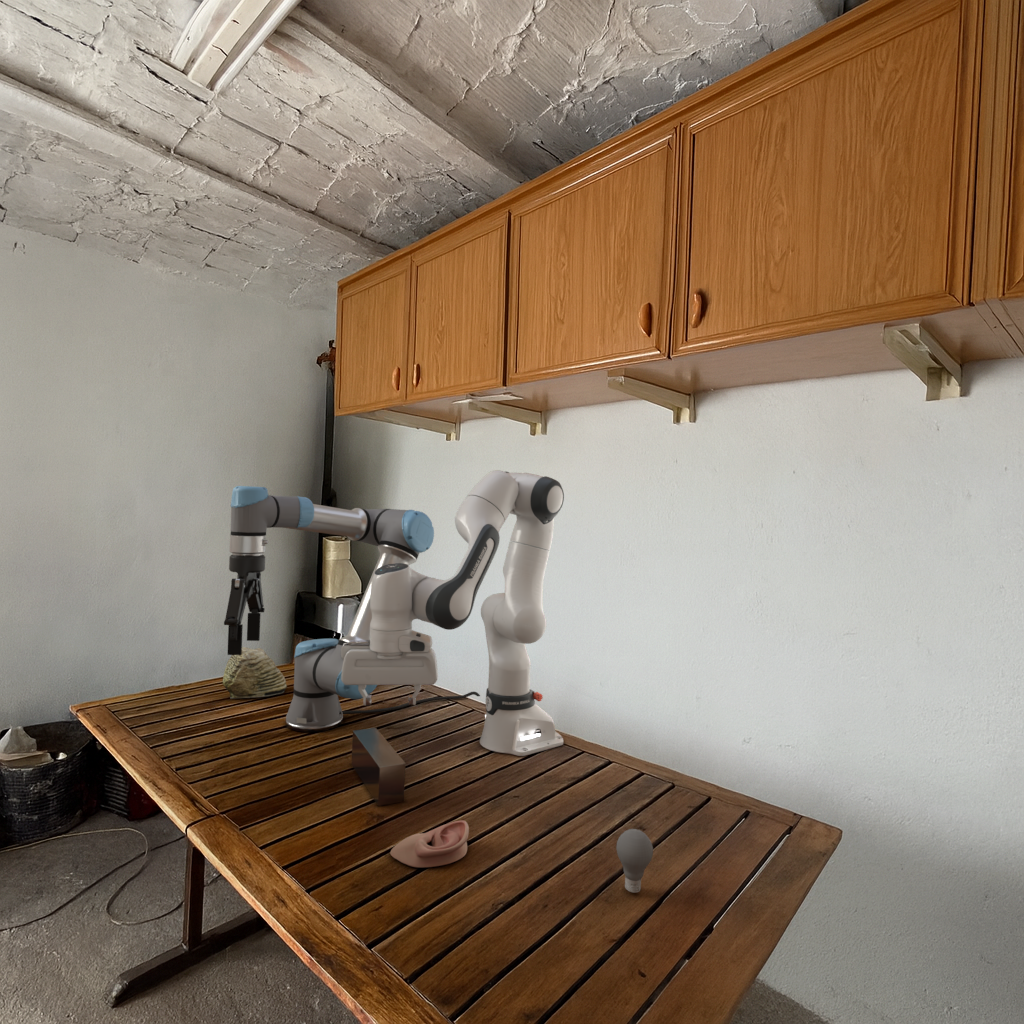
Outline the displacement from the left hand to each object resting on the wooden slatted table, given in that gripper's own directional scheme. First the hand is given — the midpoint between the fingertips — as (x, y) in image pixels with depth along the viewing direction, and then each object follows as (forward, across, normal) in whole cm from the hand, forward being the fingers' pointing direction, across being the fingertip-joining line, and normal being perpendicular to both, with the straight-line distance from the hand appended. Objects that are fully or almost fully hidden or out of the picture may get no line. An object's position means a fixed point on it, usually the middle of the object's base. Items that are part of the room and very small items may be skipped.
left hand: (244, 647), depth 144 cm
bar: (+28, -6, -31) cm, 43 cm away
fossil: (+28, +55, +12) cm, 63 cm away
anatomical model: (+28, -35, -44) cm, 63 cm away
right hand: (+9, -12, -34) cm, 37 cm away
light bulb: (+28, -48, -78) cm, 95 cm away
